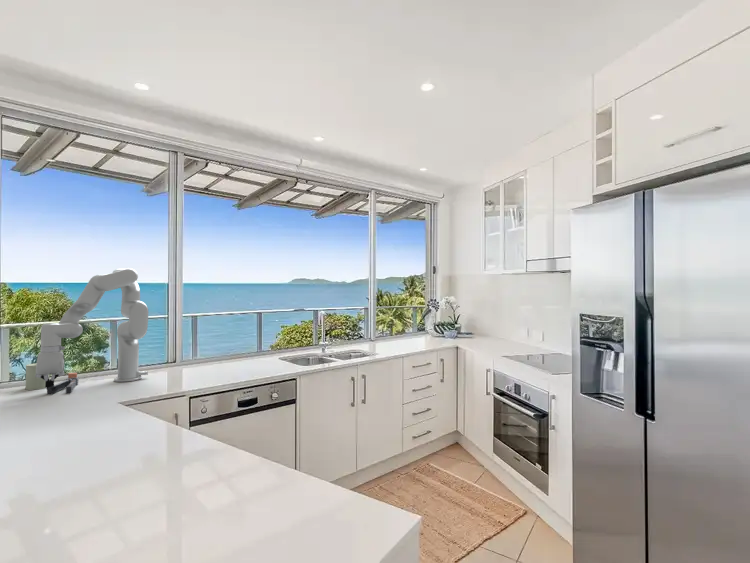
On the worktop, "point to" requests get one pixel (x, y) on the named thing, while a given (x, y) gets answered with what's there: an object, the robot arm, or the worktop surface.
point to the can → (33, 378)
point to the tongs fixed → (71, 384)
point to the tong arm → (58, 387)
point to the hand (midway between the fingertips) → (49, 388)
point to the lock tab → (72, 375)
